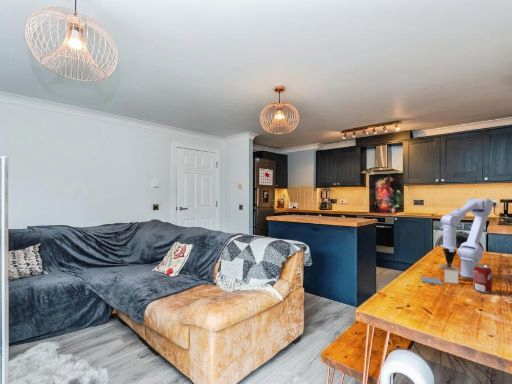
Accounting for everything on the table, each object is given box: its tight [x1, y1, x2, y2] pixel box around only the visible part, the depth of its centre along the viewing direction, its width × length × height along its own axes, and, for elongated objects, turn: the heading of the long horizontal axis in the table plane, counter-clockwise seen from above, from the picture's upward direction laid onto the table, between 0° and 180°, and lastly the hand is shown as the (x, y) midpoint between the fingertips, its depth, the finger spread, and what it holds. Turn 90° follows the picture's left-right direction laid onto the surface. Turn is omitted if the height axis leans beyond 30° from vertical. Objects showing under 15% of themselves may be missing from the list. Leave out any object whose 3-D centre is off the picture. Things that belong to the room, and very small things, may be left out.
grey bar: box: [439, 262, 460, 271], centre depth 146 cm, size 3×8×7 cm, turn 63°
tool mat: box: [419, 275, 443, 286], centre depth 143 cm, size 9×9×1 cm
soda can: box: [472, 264, 493, 294], centre depth 129 cm, size 7×7×12 cm
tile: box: [443, 269, 460, 285], centre depth 140 cm, size 2×6×6 cm, turn 63°
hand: (449, 262), depth 146 cm, fingers closed on grey bar, 2 cm apart
